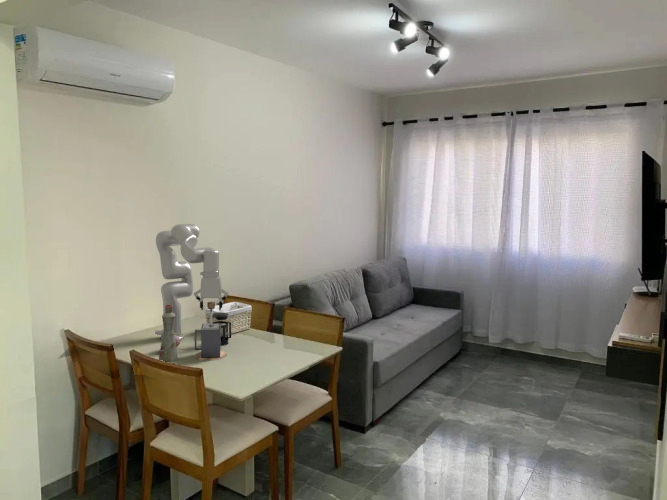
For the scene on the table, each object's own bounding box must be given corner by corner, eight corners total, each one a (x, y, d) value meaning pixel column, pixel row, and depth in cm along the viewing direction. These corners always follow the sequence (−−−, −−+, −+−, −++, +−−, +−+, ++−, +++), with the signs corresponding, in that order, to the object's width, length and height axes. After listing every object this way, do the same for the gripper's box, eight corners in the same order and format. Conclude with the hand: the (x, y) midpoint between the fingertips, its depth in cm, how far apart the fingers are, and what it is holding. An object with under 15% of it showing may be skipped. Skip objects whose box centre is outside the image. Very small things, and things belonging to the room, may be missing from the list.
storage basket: (221, 337, 286) (221, 312, 284) (203, 332, 296) (203, 307, 294) (252, 329, 305) (253, 305, 303) (234, 324, 315) (234, 301, 313)
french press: (215, 349, 266) (215, 306, 263) (206, 344, 273) (206, 302, 270) (234, 344, 274) (235, 303, 271) (226, 340, 281) (226, 300, 278)
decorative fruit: (175, 347, 267) (175, 328, 266) (182, 350, 262) (182, 332, 260) (158, 350, 261) (158, 331, 260) (165, 354, 255) (165, 335, 254)
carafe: (194, 358, 248) (193, 328, 246) (195, 352, 257) (195, 323, 255) (219, 357, 250) (220, 328, 249) (220, 351, 259) (220, 323, 257)
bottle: (167, 365, 241) (167, 307, 237) (154, 361, 245) (154, 304, 242) (181, 360, 248) (181, 304, 245) (169, 356, 253) (168, 301, 249)
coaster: (193, 362, 245) (193, 360, 245) (196, 351, 261) (196, 350, 260) (226, 361, 248) (226, 359, 248) (227, 351, 263) (227, 349, 263)
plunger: (204, 342, 249) (204, 303, 247) (205, 338, 256) (205, 300, 253) (217, 341, 251) (217, 303, 248) (218, 338, 257) (218, 300, 254)
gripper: (192, 276, 244) (192, 311, 246) (229, 275, 247) (228, 311, 249) (193, 273, 251) (193, 307, 253) (229, 273, 254) (229, 307, 256)
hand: (211, 309), depth 251 cm, fingers open, 8 cm apart
